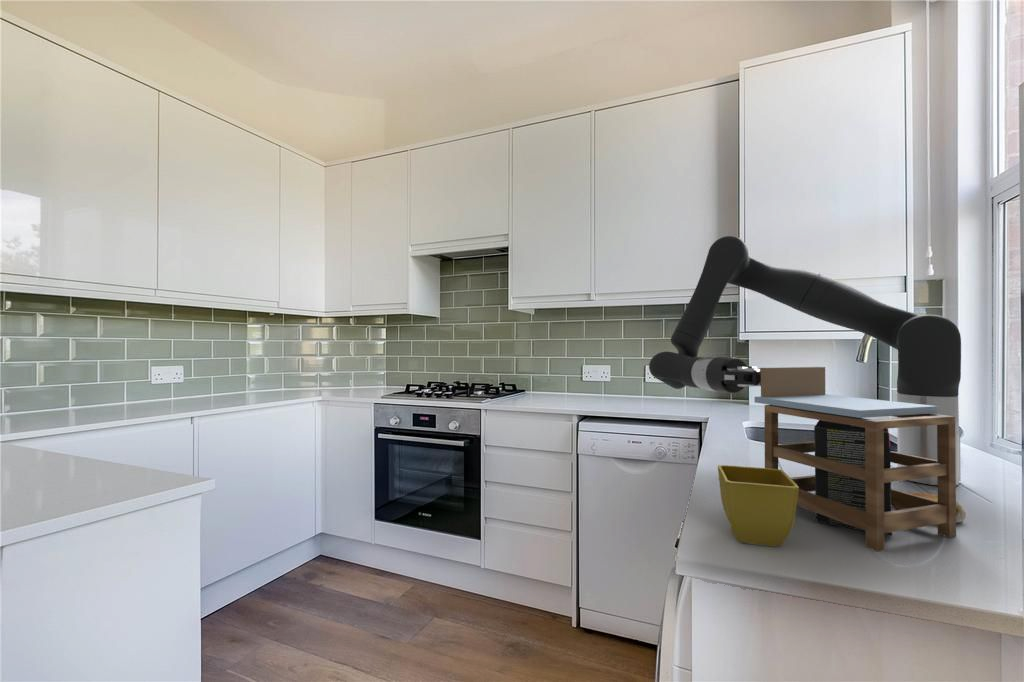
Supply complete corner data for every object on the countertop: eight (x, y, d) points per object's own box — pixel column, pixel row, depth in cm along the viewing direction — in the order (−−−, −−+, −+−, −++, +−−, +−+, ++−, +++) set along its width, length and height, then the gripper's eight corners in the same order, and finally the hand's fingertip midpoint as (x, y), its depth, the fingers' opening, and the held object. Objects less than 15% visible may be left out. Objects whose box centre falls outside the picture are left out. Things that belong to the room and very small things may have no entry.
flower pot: (800, 557, 59) (800, 486, 59) (726, 548, 61) (725, 480, 61) (782, 530, 67) (781, 469, 67) (717, 523, 70) (717, 464, 70)
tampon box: (893, 538, 64) (892, 432, 64) (813, 522, 70) (813, 425, 70) (889, 515, 73) (888, 422, 73) (819, 502, 78) (818, 416, 79)
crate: (834, 497, 82) (833, 401, 82) (956, 536, 65) (955, 416, 65) (764, 506, 77) (764, 405, 78) (876, 551, 60) (876, 421, 61)
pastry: (878, 505, 79) (878, 482, 79) (916, 504, 79) (916, 482, 79) (930, 526, 69) (930, 501, 70) (973, 526, 70) (973, 501, 70)
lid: (822, 399, 84) (822, 366, 84) (937, 412, 67) (937, 372, 67) (754, 402, 80) (754, 367, 80) (859, 417, 63) (859, 373, 63)
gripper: (693, 356, 97) (760, 359, 80) (743, 356, 101) (817, 358, 84) (693, 392, 96) (760, 402, 80) (743, 390, 100) (817, 399, 84)
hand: (789, 379), depth 82 cm, fingers closed
